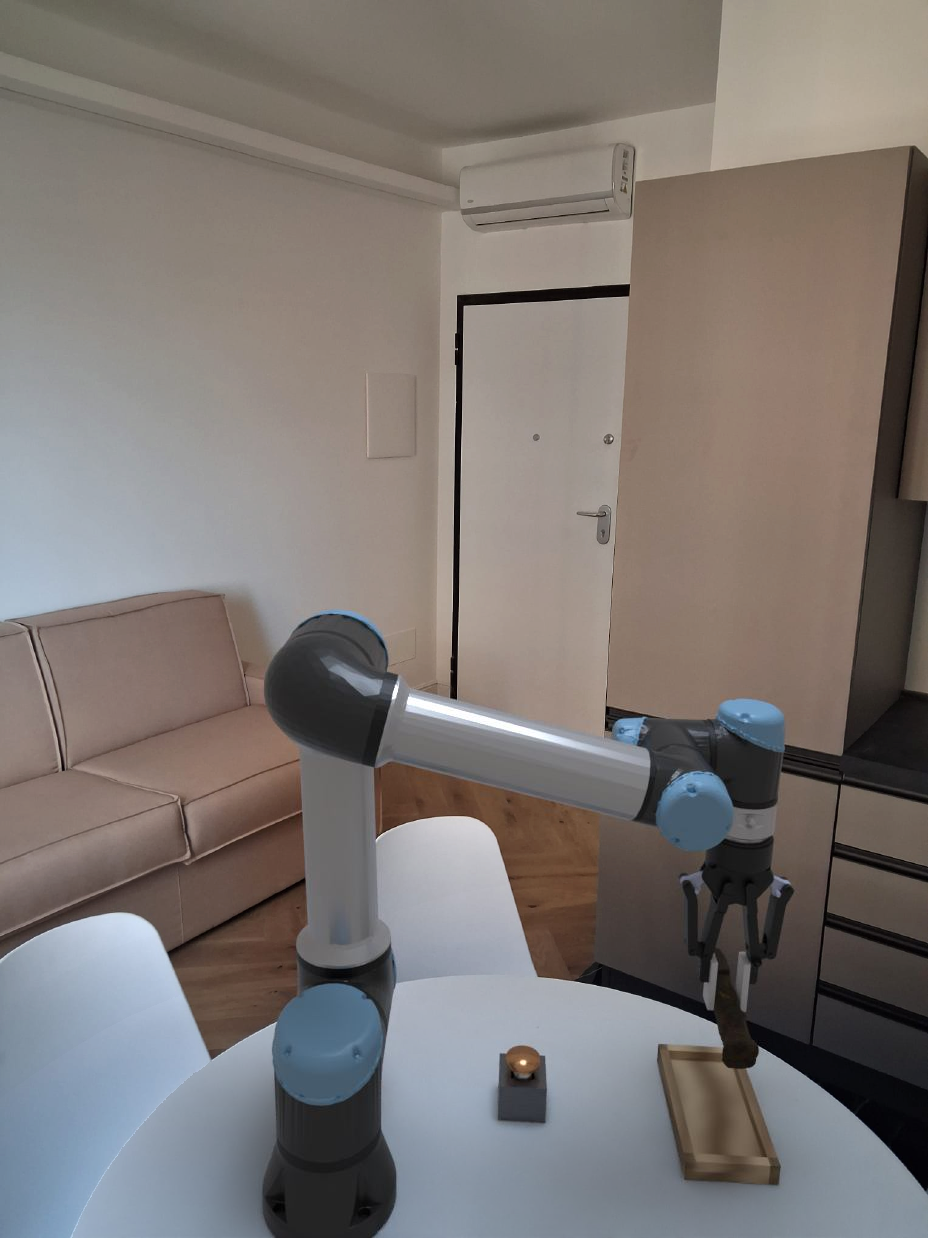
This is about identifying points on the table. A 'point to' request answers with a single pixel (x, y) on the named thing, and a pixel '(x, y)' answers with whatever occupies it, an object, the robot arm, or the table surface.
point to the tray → (715, 1118)
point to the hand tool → (732, 1021)
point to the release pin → (522, 1061)
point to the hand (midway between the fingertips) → (724, 1003)
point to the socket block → (522, 1094)
